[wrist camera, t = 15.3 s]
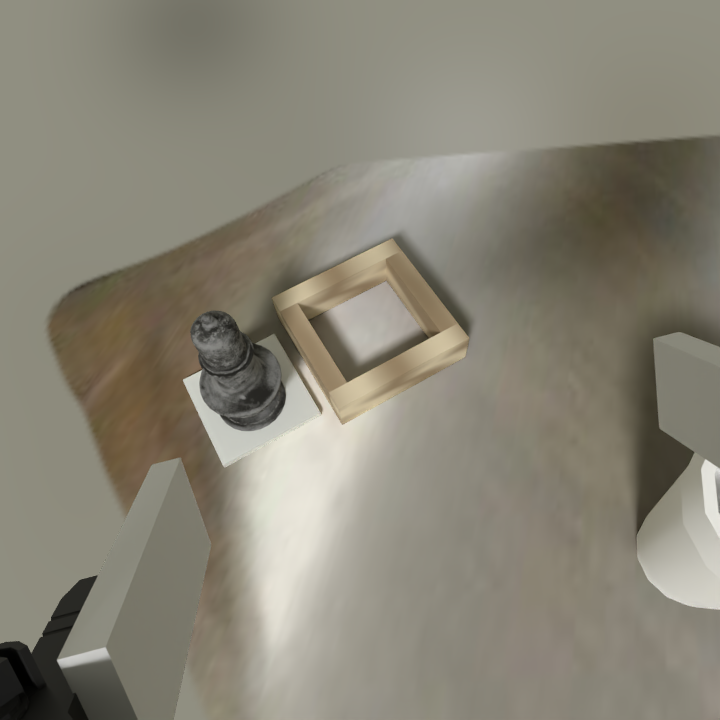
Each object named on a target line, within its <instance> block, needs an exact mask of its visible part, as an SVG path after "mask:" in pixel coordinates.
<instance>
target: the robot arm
mask: <svg viewBox="0 0 720 720" xmlns="http://www.w3.org/2000/svg"><path fill="white" fill-rule="evenodd" d="M653 345H654V360H655V374H656V389H657V404H658V419H659V429H661V430H662V431H664V432H665V433H667V434H668V435H670V436H671V437H673V438H674V439H676V440H677V441H679V442H680V443H682V444H683V445H685V446H686V447H688V448H689V449H691V450H692V451H694V452H695V453H697V454H698V455H700V456H701V457H703V458H704V459H706V460H707V461H709V462H710V463H712V464H713V465H715V466H716V467H718V468H719V469H720V347H718V346H716V345H713V344H710V343H708V342H705V341H703V340H700V339H697V338H695V337H692V336H690V335H687V334H684V333H682V332H676V333H672V334H668V335H665V336H661V337H657V338H653ZM210 548H211V542H210V540H209V537H208V534H207V531H206V528H205V526H204V523H203V520H202V517H201V514H200V511H199V509H198V506H197V503H196V500H195V497H194V494H193V492H192V489H191V486H190V483H189V480H188V477H187V475H186V472H185V469H184V466H183V463H182V460H181V458H177V459H173V460H169V461H165V462H161V463H157V464H153V465H151V468H150V470H149V472H148V474H147V476H146V478H145V480H144V482H143V484H142V486H141V488H140V490H139V492H138V494H137V496H136V498H135V500H134V502H133V505H132V507H131V509H130V511H129V513H128V515H127V517H126V519H125V521H124V523H123V525H122V527H121V529H120V532H119V533H118V535H117V537H116V540H115V542H114V544H113V546H112V548H111V550H110V552H109V554H108V556H107V558H106V560H105V562H104V564H103V566H102V568H101V570H100V572H99V574H98V576H93V577H89V578H86V579H82V580H79V581H78V583H76V585H74V586H73V588H72V589H71V590H70V591H69V592H68V593H67V594H66V595H65V596H64V597H63V598H62V599H61V600H60V602H59V604H58V606H57V608H56V610H55V611H54V613H53V615H52V617H51V621H50V622H48V624H47V626H46V628H45V630H44V631H43V633H42V634H43V637H41V638H40V639H39V641H38V642H37V644H36V646H35V648H34V650H33V652H32V653H31V652H30V650H29V648H28V646H27V645H25V644H23V643H21V642H19V641H16V642H4V643H1V644H0V720H174V715H175V710H176V706H177V701H178V697H179V692H180V687H181V683H182V678H183V673H184V669H185V664H186V660H187V655H188V650H189V646H190V641H191V636H192V632H193V627H194V622H195V618H196V613H197V608H198V604H199V599H200V595H201V590H202V585H203V581H204V576H205V571H206V567H207V562H208V557H209V553H210Z"/></svg>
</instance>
